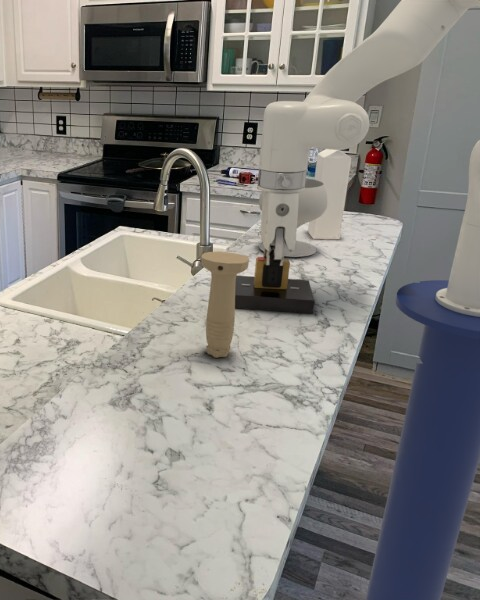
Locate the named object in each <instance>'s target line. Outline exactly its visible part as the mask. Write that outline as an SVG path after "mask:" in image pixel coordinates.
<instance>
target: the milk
mask: <svg viewBox="0 0 480 600" xmlns="http://www.w3.org/2000/svg"><path fill="white" fill-rule="evenodd" d="M316 156H317V157H316V165H315V172H314V179H313V180H317V181H320V182H322V183H323V184H324V186H325V188H326V192H327V208H326V210H325V212H324V213H323V214H322V215H321V216H320V217H319V218H317V219H315V220H313V221H310V222H308V227H307V233H308V234H309V235H310V237H311V238H312V239H313V240H340V238H341V232H342V225H343V220H344V219H343V218H344V211H345V205H346V198H347V191H348V186H349V185H348V184H349V178H350V170H351V164H352V157H351V156H349V155H348V154H346V153H345V152H343V151H342V150H331V149H323V150H322V151H320V152H318V153H317V155H316Z"/></svg>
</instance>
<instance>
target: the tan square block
mask: <svg viewBox="0 0 480 600" xmlns="http://www.w3.org/2000/svg"><path fill="white" fill-rule="evenodd" d="M264 264H266V258H264V257H263V256H257V257H255V267H254V275H253V277H254V288H267V289H287V284H288V279H289V274H290V266H291V261H290V259H289V258H284V260H283V274H282V282H281V287H279V288H276V287H263V286H262V277H263V267H264Z"/></svg>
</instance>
